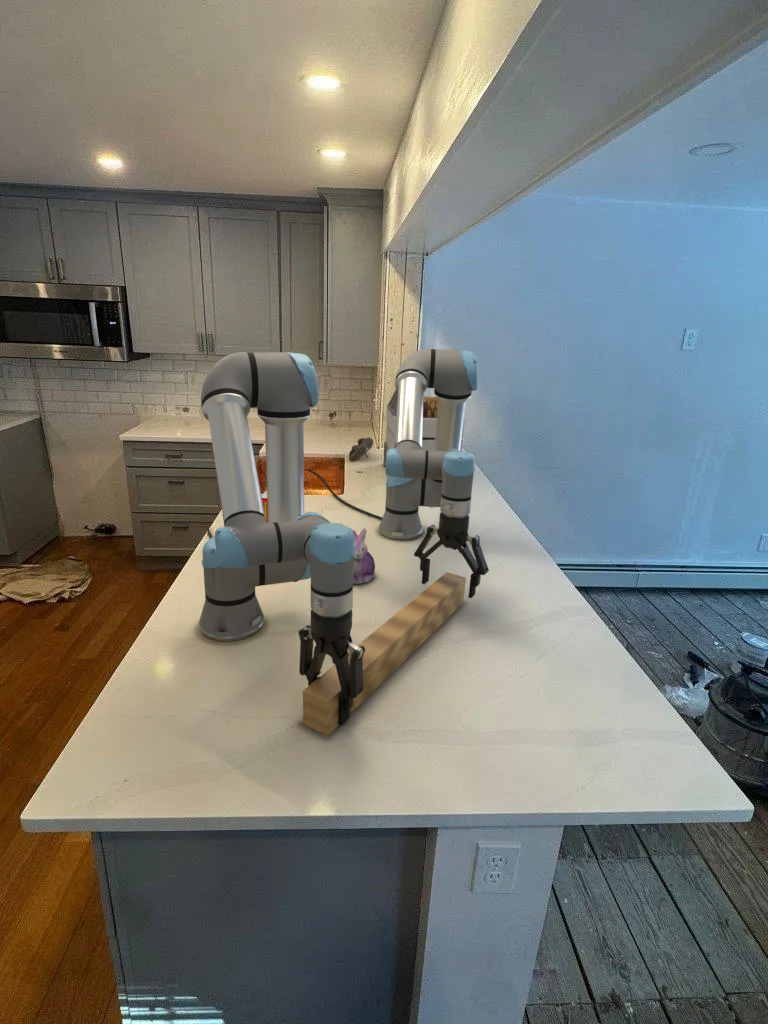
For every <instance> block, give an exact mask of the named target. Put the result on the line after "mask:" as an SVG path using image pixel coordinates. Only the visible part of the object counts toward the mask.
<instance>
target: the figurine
mask: <svg viewBox="0 0 768 1024" xmlns="http://www.w3.org/2000/svg"><path fill="white" fill-rule="evenodd" d="M352 531H353V534H354V545H355V553H354V571H353V584H355V585H356V584H357V585H358V584H359V585H360V584H363V583H368V582H369V581H371V580H372V579H374V576H375V571H376V563H375V559H374V557H373V555H372V554H371V553H370V552H369V551H368V550H369V549H368V547H367V545H366V542H365V540H366V536H367V528H366V527H365V528H362V530H361V531H360V532H359V534H357V532H356V530H355V529H353V528H352Z"/></svg>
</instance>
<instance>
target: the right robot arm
mask: <svg viewBox="0 0 768 1024" xmlns="http://www.w3.org/2000/svg"><path fill="white" fill-rule="evenodd" d="M476 355H477V354H476V353H475V352H473V351H471V350H462V349H443V348H441V349H440V348H439V349H438V348H422V349H418V350H416V351H414V352H413V353H411V354H410V355H408V356H407V357H406V358H405V359H404V360H403V361H402V363H401V364H400V365H399V367H398V370H397V371H396V374H395V379H394V380H395V381H394V382H395V383H394V386H395V390H397V391H398V399H397V413H396V428H395V442H394V448H393V449H388V450H387V453H386V466H385V471H384V472H385V475H386V482H385V486H386V488H385V489H386V490H385V504H384V505H385V507H384V508H385V509H384V513H383V515H382V516H380V515H377V514H374V513H371V512H369V511H366V510H364V509H361V508H359V507H356V506H355V505H352V504H351V503H348V502H347V501H345V500H344V499H343V498H340V496H338V495H337V493H335V492H334V490H333V489H332V488H331V487H330V486H329V485H328V483H327V481H325V479H324V478H323V477H322V476H321V475H320V474H319V473H317V472H315V471H313V469H310V468H307V471H308V472H309V473H311V474H313V475H315V476H316V477H317V478H318V479H319V480H321V482H322V483H323V484H324V485H325V487H326V488H327V490H328V491H329V493H330V494H331V495H332V496H333V497H335V498H336V499H337V500H338V501H339V502H341V503H342V504H344V505H346V506H347V507H349V508H351V509H353V510H355V511H358V512H360V513H362V514H364V515H367V516H369V517H372V518H375V519H378V520H380V521H381V522H379V525H378V533H379V534H380V535H381V536H382V537H385V538H387V539H389V540H395V541H410V540H415V539H418V538H420V537H421V536H422V535H423V525H422V524H421V518H420V515H419V507H427V508H430V507H431V508H439V511H440V513H439V516H438V517H439V519H438V527H436V525H434V524H431V525H430V526H428V527H427V528H426V533H425V535H424V537H423V539H422V540H421V542H420V543H419V545H418V547H417V548H416V549H415V551H414V553H413V555H414V557H415V558H418V559H419V560H420V561H419V570H420V571H421V572H422V574H421V585H425V584H427V583H428V582H429V581H430V580H429V579H430V571H431V570H430V569H431V558H429V557H430V556H431V555H432V554H434V553H435V552H436V551H437V550H438V549H439V548H440V547H442V546H443V547H444V548H445V549H451V550H454V551H458V552H459V554H461V556H462V557H463V559H464V560H465V562H466V564H467V565H468V567H469V568H470V570H471V572H472V573H471V574H470V579H469V589H468V596H467V597H468V599H472V598H474V596H476V590H477V587H478V586H480V584H481V576H485V575H486V574H487V573H488V572H489V571H490V569H489V566H488V563H487V560H486V558H485V555H484V552H483V549H482V547H481V537H480V536H479V535H477V534H476V535H475V536H474V535H469V525H470V513H471V505H472V492H473V483H474V476H475V472H476V471H475V470H476V467H475V462H476V461H475V460H476V458H475V456H474V455H473V454H472V453H470V452H466V451H463V450H462V451H460V447H461V440H462V439H463V438H462V429H463V420H465V411H466V402H467V401H468V400H469V399H470V398H472V392H475V391H477V390H478V384H479V380H478V379H479V371H478V359H477V356H476ZM427 389H433V394H434V396H435V397H437V398H438V410H437V422H436V433H435V445H434V451H424V450H422V426H423V397H425V396H424V394H425V392H426V391H427ZM436 535H437V537H438V539H439V540H438V541H436V542H435V543H434V544H433V545H432V546H430V548H429V549H427V550H426V551H425V549H426V548H427V546H428V544H429V543H430V542H431V540H432V538H433V537H434V536H436ZM468 542H469V545H471V549H472V552H471V550H470V547H469V545H468ZM424 551H425V552H424Z"/></svg>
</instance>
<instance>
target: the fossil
mask: <svg viewBox="0 0 768 1024" xmlns="http://www.w3.org/2000/svg"><path fill="white" fill-rule="evenodd" d="M373 446H374V439H373V438H371V437H369V436H368V437H361V438H358V440H357V445H356V444H355V445H352V446H351V449H350V451H349V454H348V459H349V461H351V462H356V461H357V460H360V459H361V458H363V456H366V458H369V456H368V455H367V453H368V452H369V451H370V450H371V449H372V447H373Z"/></svg>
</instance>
